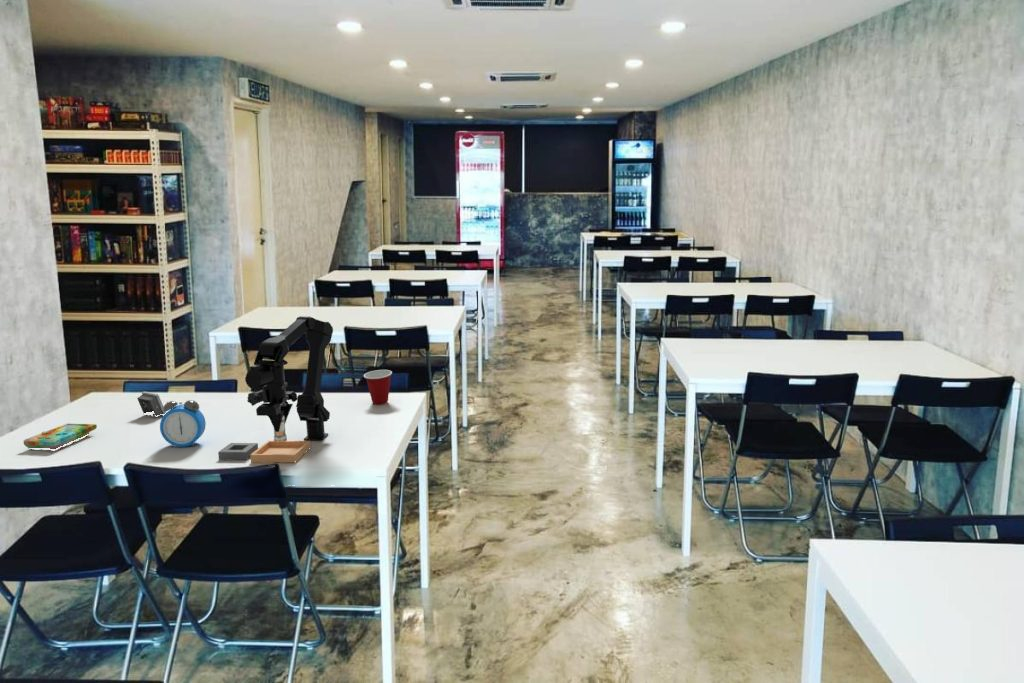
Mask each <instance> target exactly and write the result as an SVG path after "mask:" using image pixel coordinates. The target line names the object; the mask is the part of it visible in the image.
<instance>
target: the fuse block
mask: <svg viewBox="0 0 1024 683" xmlns="http://www.w3.org/2000/svg"><path fill="white" fill-rule="evenodd" d="M258 448H259V444H258V443H257V442H230V443H229V444H227V445H226V446H225V447H222V448H221V449H220V450H218V452H217V453H218V460H220V461H223V460H226V461H231V460H232V461H233V460H235V461H237V460H238V461H241V460H243V461H245V460H246V461H247V460H248V459H249V457H250V458H251V456H250V455H251V454H252V453H253V452H255V451H256V450H257V449H258Z"/></svg>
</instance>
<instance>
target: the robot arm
mask: <svg viewBox="0 0 1024 683" xmlns="http://www.w3.org/2000/svg"><path fill="white" fill-rule="evenodd" d="M333 332H334V327H333V326H332V325H331V323H330V322H329V321H323V320H319V319H317V318H314V317H311V316H307V315H306V316H305V315H304V316H303V315H300V316H297V318H296V319H295V320H294V321H293V322H292V323H291V324H290V325H289V326H288V327H286V328H285V329H284V330H282V332H280V333H279V334H278V335H276V336H273V337H269V338H267V339H265V340H264V341H261V343H260V345H259V347H258V350H257V353H256V355H255V359H254V362H253V365H251V366H249V371H247V373H246V375H245V378H244V380H245V383H246V386H247V387H248V388H250V389H252V390H257V389H259V388H260V390H258V391H252V392H248V394H247V398H246V399H247V402H248V403H249V404H251V406H252V407H254V406H255V405H256V404H260V403H261V402H263V403H261V404H260V405H258V407H257V408H256V409H255V412H256V416H258V417H259V416H263V417H267V418H269V420H270V422H271V425H272V427H273V430H274V429H275V431H276V432H279V430H280V426H281V422H282V418H283V415H285V424H286V423H287V419H288V416H289V414H290V412H291V409H292V408H293V403H294V402H296V406H295V408H296V412H297V414H298V417H299V421H301V422H302V421H303V422H306V424H305V425H306V436H305V437H304V438H303V441H323V440H324V439H326V438H327V437H328V436H329V432H328V433H326V432H325V422H328V420H329V419H330V416H331V412H330V411H329V410H328V409H327V408H326V407H325V406H324V405H325V399H324V397H323V395H322V393H321V387H322V378H323V369H324V361H325V352H326V348H327V347H328V346H329V344H330V343H331V341H332V336H333V334H334V333H333ZM303 335H305V340H306V342H307V343H308V346H309V351H308V360H307V367H306V368H307V370H306V376H305V377H306V378H305V386H304V390H303V392H302V393H301V394H297V392H295V391H293V390H292V391H289V390H288V391H286V388H287V387H288V382H286V380H285V377H286V376H285V368H284V367H285V365H288V361H287V360H286V359H284V358H285V357H286V356H287V355H288V354H289V352H290V347H291V346H292V345H293V344H294V343H295V342H296V341H297V340H299V339H300V338H301V337H302V336H303ZM261 388H262V389H261ZM289 401H291V402H293V403H289ZM327 435H328V436H327Z"/></svg>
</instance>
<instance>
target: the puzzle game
mask: <svg viewBox="0 0 1024 683" xmlns="http://www.w3.org/2000/svg"><path fill="white" fill-rule="evenodd" d="M96 429H97V424H96V423H95V424H94V423H93V424H92V423H69V422H68V423H64V424H62V425H59V426H56V427H53V428H51V429H49V430H47V431H42V432H41V433H39V434H36V435H33V436H31V437H28V438H26V439H24V440H23V445H24V446H25V447H26V448H27V449H29V448H50V449H56V448H58V447H60V446H63V445H64V444H67V443H69V442H71V441H74V440H76V439H78V438H81V437H83V436H85V435H87V434H90V432H92V431H94V430H96Z"/></svg>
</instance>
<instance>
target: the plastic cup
mask: <svg viewBox="0 0 1024 683" xmlns="http://www.w3.org/2000/svg"><path fill="white" fill-rule="evenodd" d="M392 374H393V371H392V370H389V369H377V370H376V369H375V370H371V371H368V372H366V373H364V374H363V377H364V379H365V380H366V383H367V387H368V391H369V395H370V398H371V403H372V405H375V404H376V405H378V406H381V404H382V405H386V404H388V401H389V394H390V385H391V378H392V377H391V376H392Z"/></svg>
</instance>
